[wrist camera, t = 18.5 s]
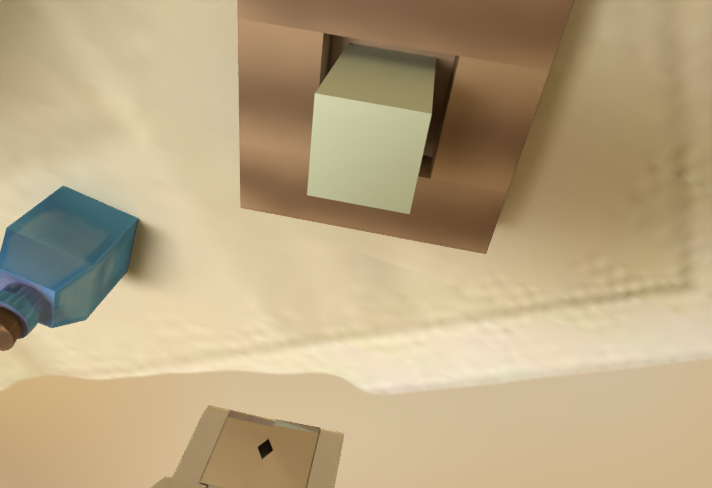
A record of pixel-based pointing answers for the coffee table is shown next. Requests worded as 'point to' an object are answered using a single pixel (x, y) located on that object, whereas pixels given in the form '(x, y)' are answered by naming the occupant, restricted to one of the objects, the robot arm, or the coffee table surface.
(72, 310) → the perfume bottle
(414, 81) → the sage plug
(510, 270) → the coffee table surface
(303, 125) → the walnut stand
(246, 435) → the robot arm
